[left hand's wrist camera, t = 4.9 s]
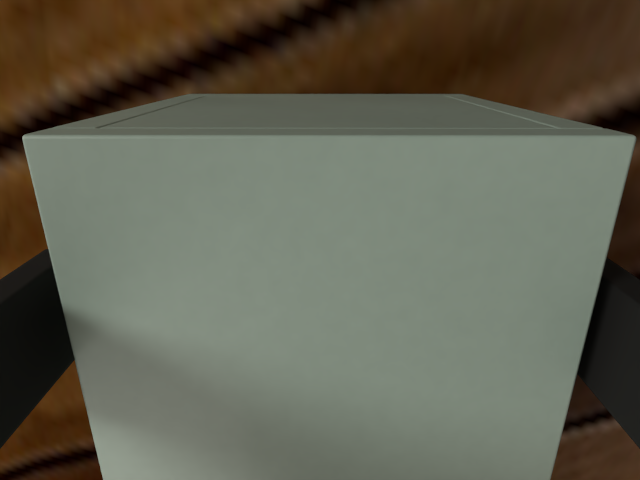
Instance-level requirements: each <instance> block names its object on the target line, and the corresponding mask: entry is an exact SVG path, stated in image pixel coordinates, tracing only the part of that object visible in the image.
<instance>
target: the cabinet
mask: <svg viewBox="0 0 640 480" xmlns="http://www.w3.org/2000/svg"><path fill="white" fill-rule="evenodd" d="M22 140H23V144H24V148H25V152H26V156H27V161H28V165H29V169H30V173H31V177H32V182H33V186H34V190H35V194H36V199H37V203H38V207H39V211H40V215H41V220H42V224H43V228H44V232H45V236H46V241H47V245H48V249H49V253H50V257H51V262H52V266H53V270H54V274H55V278H56V283H57V287H58V291H59V295H60V300H61V304H62V308H63V312H64V316H65V321H66V325H67V329H68V333H69V337H70V342H71V346H72V350H73V354H74V358H75V363H76V367H77V371H78V375H79V379H80V384H81V388H82V392H83V396H84V400H85V405H86V409H87V413H88V417H89V422H90V426H91V430H92V434H93V438H94V443H95V447H96V451H97V455H98V459H99V464H100V468H101V472H102V476H103V480H550V479H551V475H552V471H553V467H554V463H555V459H556V455H557V451H558V447H559V443H560V439H561V435H562V432H563V428H564V424H565V420H566V416H567V412H568V408H569V404H570V400H571V396H572V392H573V388H574V384H575V380H576V376H577V372H578V368H579V364H580V360H581V356H582V352H583V348H584V344H585V340H586V337H587V333H588V329H589V325H590V321H591V317H592V313H593V309H594V305H595V301H596V297H597V293H598V289H599V285H600V281H601V277H602V273H603V269H604V265H605V261H606V257H607V253H608V249H609V245H610V241H611V238H612V234H613V230H614V226H615V222H616V218H617V214H618V210H619V206H620V202H621V198H622V194H623V190H624V186H625V182H626V178H627V174H628V170H629V166H630V162H631V158H632V154H633V150H634V146H635V143H636V137H635V136H634V135H631V134H627V133H622V132H618V131H614V130H610V129H603V128H601V127H597V126H593V125H589V124H584V123H580V122H576V121H572V120H568V119H563V118H559V117H555V116H551V115H547V114H543V113H538V112H534V111H530V110H526V109H522V108H517V107H513V106H509V105H505V104H501V103H497V102H492V101H488V100H484V99H480V98H476V97H471V96H468V95H463V94H187V95H184V96H179V97H175V98H171V99H167V100H163V101H159V102H155V103H151V104H147V105H142V106H138V107H134V108H130V109H126V110H122V111H118V112H114V113H110V114H106V115H102V116H98V117H94V118H90V119H86V120H82V121H77V122H73V123H69V124H65V125H61V126H57V127H54V128H50V129H46V130H42V131H37V132H33V133H29V134H26V135H24V136H23V138H22Z"/></svg>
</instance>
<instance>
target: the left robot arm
mask: <svg viewBox="0 0 640 480" xmlns="http://www.w3.org/2000/svg"><path fill="white" fill-rule="evenodd" d="M74 360H75V358H74V354H73V350H72V346H71V342H70V337H69V333H68V329H67V325H66V321H65V316H64V312H63V308H62V304H61V300H60V295H59V291H58V287H57V283H56V278H55V274H54V270H53V266H52V262H51V257H50V253H49V249H45V250H44V251H42V252H41V253H39V254H38V255H36V256H35V257H33V258H32V259H30V260H29V261H27V262H26V263H24V264H23V265H21V266H20V267H18V268H17V269H15V270H14V271H12V272H11V273H9V274H8V275H6V276H5V277H3V278H2V279H0V448H1V447H2V446H3V445H4V443H5V442H6V441H7V440H8V439H9V437H10V436H11V435H12V434H13V433H14V431H15V430H16V429H17V428H18V427H19V425H20V424H21V423H22V422H23V421H24V419H25V418H26V417H27V416H28V415H29V413H30V412H31V411H32V410H33V409H34V408H35V406H36V405H37V404H38V403H39V402H40V400H41V399H42V398H43V397H44V396H45V394H46V393H47V392H48V391H49V390H50V388H51V387H52V386H53V385H54V384H55V382H56V381H57V380H58V379H59V378H60V376H61V375H62V374H63V373H64V372H65V370H66V369H67V368H68V367H69V366H70V364H71V363H72V362H73V361H74ZM577 374H578V375H579V376H580V378H581V379H582V380H583V381H584V382H585V384H586V385H587V386H588V387H589V388H590V390H591V391H592V392H593V393H594V394H595V396H596V397H597V398H598V399H599V400H600V402H601V403H602V404H603V405H604V406H605V408H606V409H607V410H608V411H609V412H610V413H611V415H612V416H613V417H614V418H615V419H616V421H617V422H618V423H619V424H620V425H621V427H622V428H623V429H624V430H625V431H626V433H627V434H628V435H629V436H630V437H631V439H632V440H633V441H634V442H635V443H636V445H637V446H638V447H639V448H640V280H639V279H638V278H637V277H635V276H634V275H632V274H631V273H629V272H628V271H626V270H625V269H623V268H622V267H620V266H619V265H617V264H616V263H614V262H613V261H611V260H610V259H608V258H607V257H606V261H605V265H604V269H603V273H602V277H601V281H600V285H599V289H598V293H597V297H596V301H595V305H594V309H593V313H592V317H591V321H590V325H589V329H588V333H587V337H586V340H585V344H584V348H583V352H582V356H581V360H580V364H579V368H578V372H577Z"/></svg>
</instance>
